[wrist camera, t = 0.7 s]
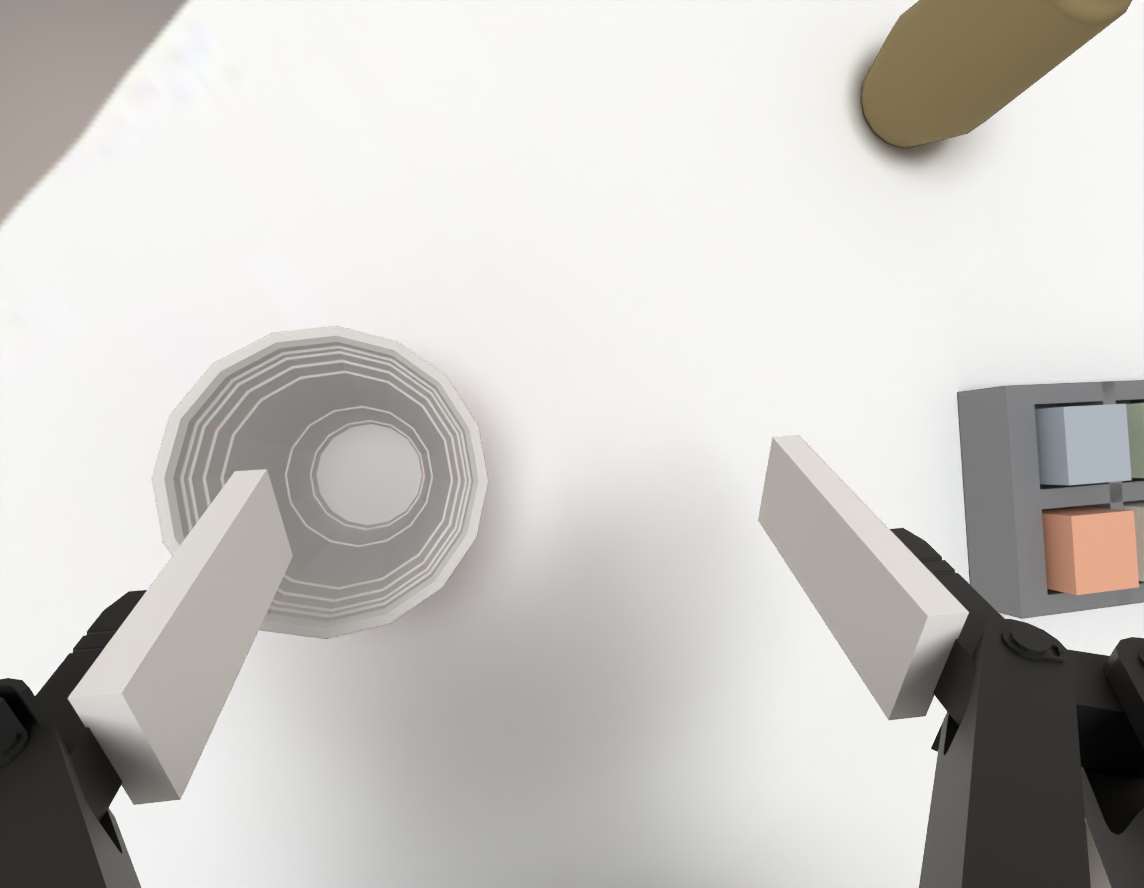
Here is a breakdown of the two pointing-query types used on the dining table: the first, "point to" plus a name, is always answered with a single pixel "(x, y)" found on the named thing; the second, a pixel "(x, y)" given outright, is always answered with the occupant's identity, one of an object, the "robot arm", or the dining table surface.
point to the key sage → (1136, 438)
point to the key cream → (1138, 533)
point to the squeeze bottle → (971, 61)
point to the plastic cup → (333, 471)
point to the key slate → (1083, 444)
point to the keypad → (1028, 494)
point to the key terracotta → (1090, 549)
